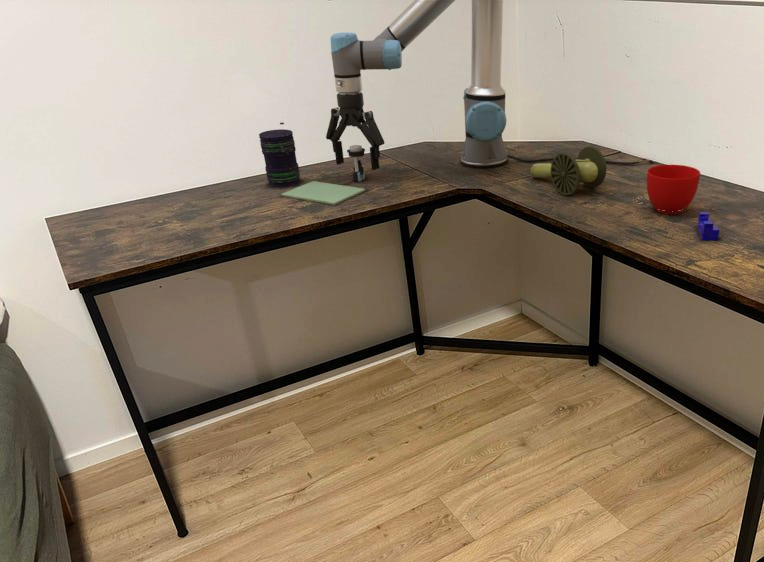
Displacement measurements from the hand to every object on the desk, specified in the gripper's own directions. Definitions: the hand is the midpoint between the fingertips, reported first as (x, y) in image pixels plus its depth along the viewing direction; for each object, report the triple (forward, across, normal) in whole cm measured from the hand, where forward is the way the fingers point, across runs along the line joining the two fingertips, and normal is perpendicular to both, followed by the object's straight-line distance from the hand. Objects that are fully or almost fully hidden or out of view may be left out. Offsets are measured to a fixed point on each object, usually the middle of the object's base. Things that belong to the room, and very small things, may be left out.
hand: (357, 166), depth 206 cm
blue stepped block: (+3, +106, -3) cm, 106 cm away
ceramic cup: (+3, +93, +12) cm, 94 cm away
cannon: (+3, +60, +18) cm, 63 cm away
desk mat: (+4, -1, -16) cm, 16 cm away
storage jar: (+4, -19, -13) cm, 23 cm away
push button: (+4, 0, 0) cm, 4 cm away
